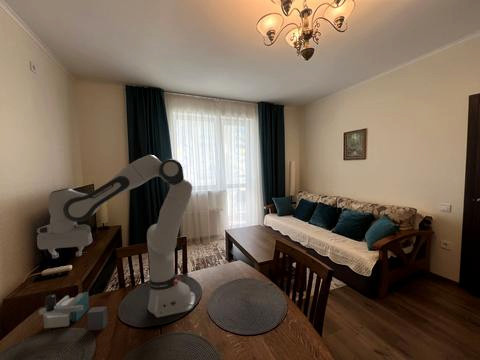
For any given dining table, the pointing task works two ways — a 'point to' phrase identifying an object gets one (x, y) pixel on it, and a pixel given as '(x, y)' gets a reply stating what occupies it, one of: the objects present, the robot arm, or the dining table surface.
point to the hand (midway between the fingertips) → (67, 256)
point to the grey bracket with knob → (67, 306)
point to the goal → (56, 318)
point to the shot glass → (65, 305)
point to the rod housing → (97, 318)
